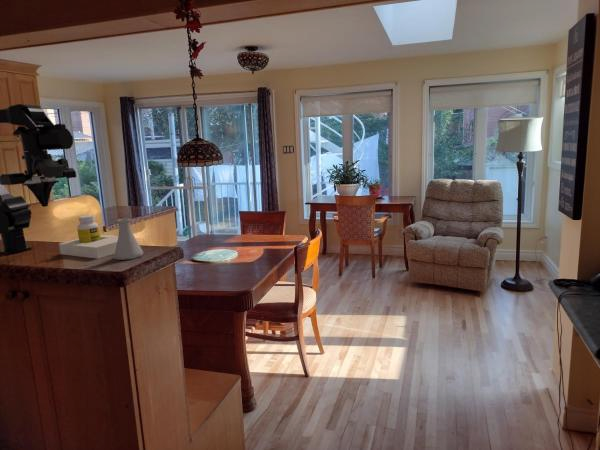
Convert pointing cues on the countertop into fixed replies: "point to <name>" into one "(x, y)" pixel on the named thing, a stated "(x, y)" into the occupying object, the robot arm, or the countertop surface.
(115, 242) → the block
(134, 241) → the flask
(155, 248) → the countertop surface
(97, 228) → the supplement bottle
